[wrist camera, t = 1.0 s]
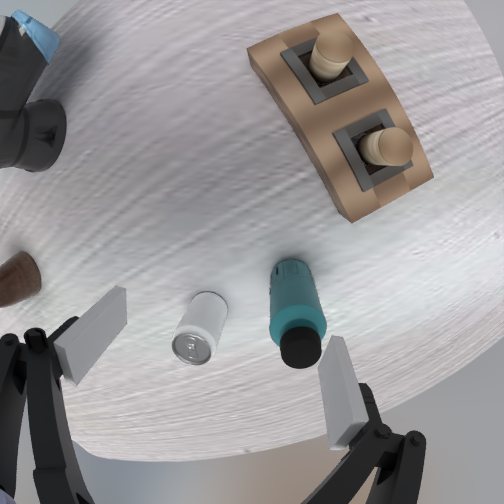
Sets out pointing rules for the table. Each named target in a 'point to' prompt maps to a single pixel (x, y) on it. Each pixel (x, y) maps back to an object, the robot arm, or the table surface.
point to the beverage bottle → (296, 314)
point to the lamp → (18, 279)
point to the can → (200, 329)
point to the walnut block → (339, 116)
